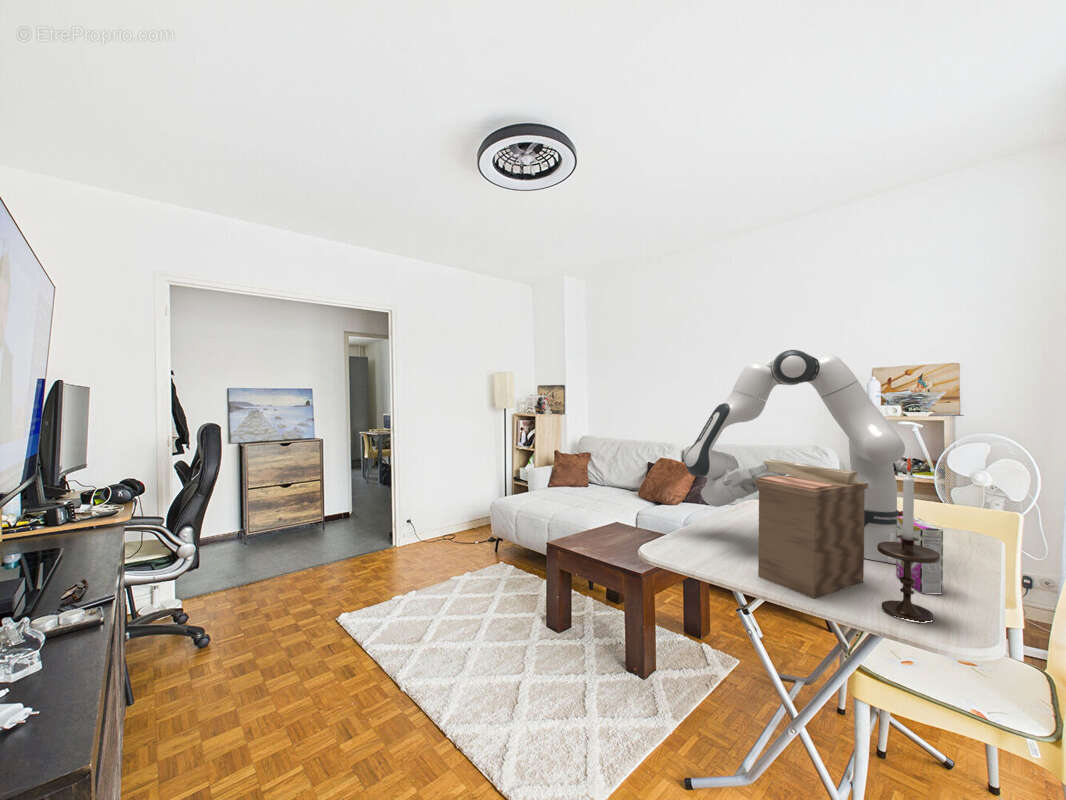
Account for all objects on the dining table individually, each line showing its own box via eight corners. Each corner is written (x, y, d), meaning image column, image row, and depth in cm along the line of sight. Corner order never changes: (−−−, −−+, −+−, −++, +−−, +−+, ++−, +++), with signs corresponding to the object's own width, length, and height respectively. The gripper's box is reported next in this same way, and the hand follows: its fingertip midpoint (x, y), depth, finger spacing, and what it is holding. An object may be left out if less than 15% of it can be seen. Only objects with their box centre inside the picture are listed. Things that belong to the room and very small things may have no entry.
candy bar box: (894, 576, 125) (895, 515, 124) (915, 577, 124) (916, 516, 123) (920, 594, 114) (921, 527, 113) (943, 595, 113) (944, 528, 112)
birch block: (772, 469, 141) (772, 459, 141) (856, 483, 119) (857, 471, 119) (763, 470, 139) (763, 459, 139) (847, 484, 118) (848, 472, 118)
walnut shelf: (806, 562, 135) (807, 471, 134) (866, 582, 120) (867, 481, 120) (755, 576, 125) (756, 478, 124) (814, 600, 111) (815, 489, 110)
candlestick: (885, 598, 111) (887, 453, 111) (944, 615, 103) (947, 458, 102) (869, 611, 105) (871, 457, 104) (931, 631, 96) (933, 463, 95)
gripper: (715, 475, 145) (748, 458, 134) (759, 470, 154) (794, 453, 143) (723, 494, 142) (758, 478, 131) (768, 488, 151) (803, 472, 140)
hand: (777, 465), depth 137 cm, fingers open, 8 cm apart
